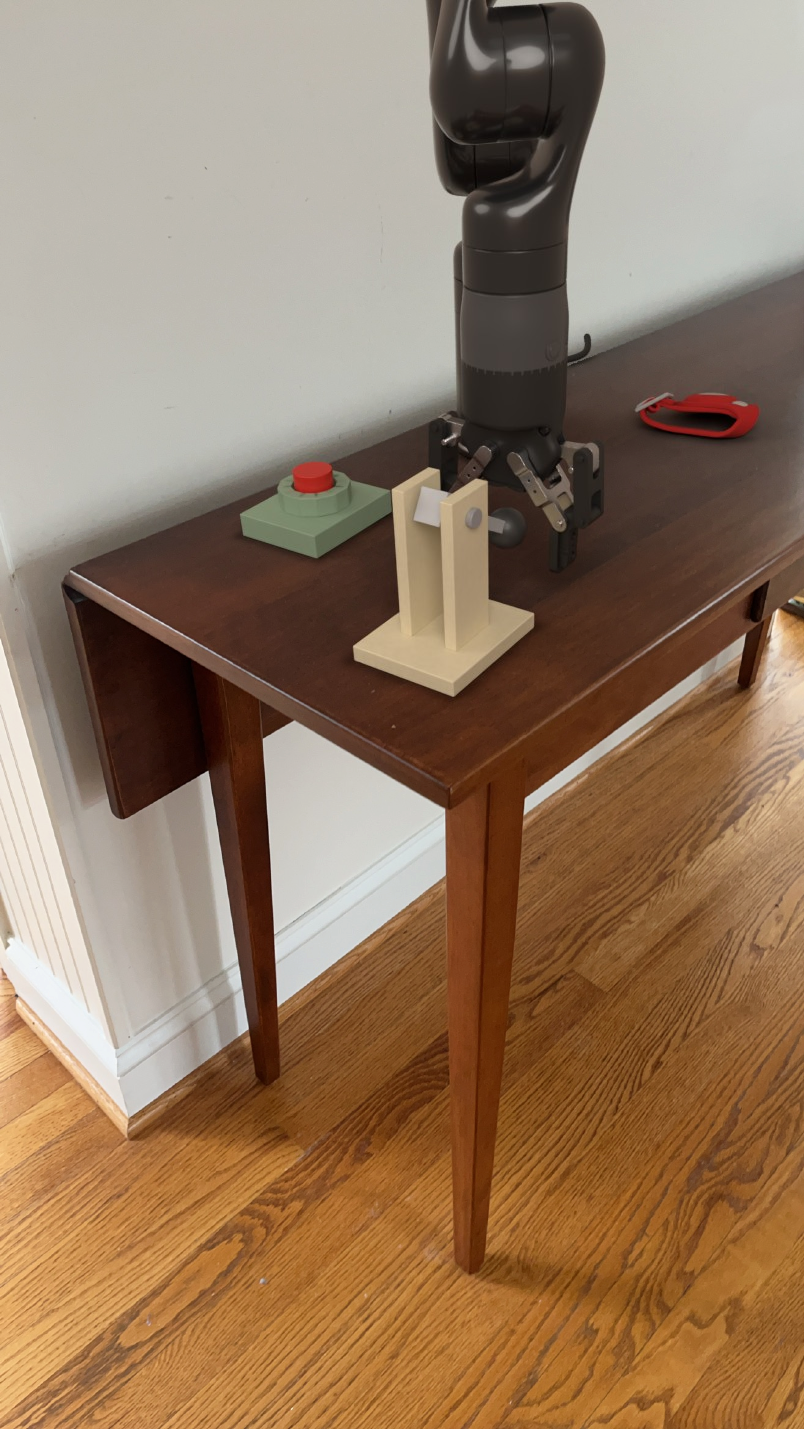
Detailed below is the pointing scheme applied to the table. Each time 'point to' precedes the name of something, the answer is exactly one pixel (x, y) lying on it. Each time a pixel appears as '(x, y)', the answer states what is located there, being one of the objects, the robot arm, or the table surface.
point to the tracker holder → (702, 403)
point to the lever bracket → (443, 594)
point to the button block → (316, 515)
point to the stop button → (313, 477)
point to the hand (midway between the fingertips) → (512, 555)
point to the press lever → (502, 523)
